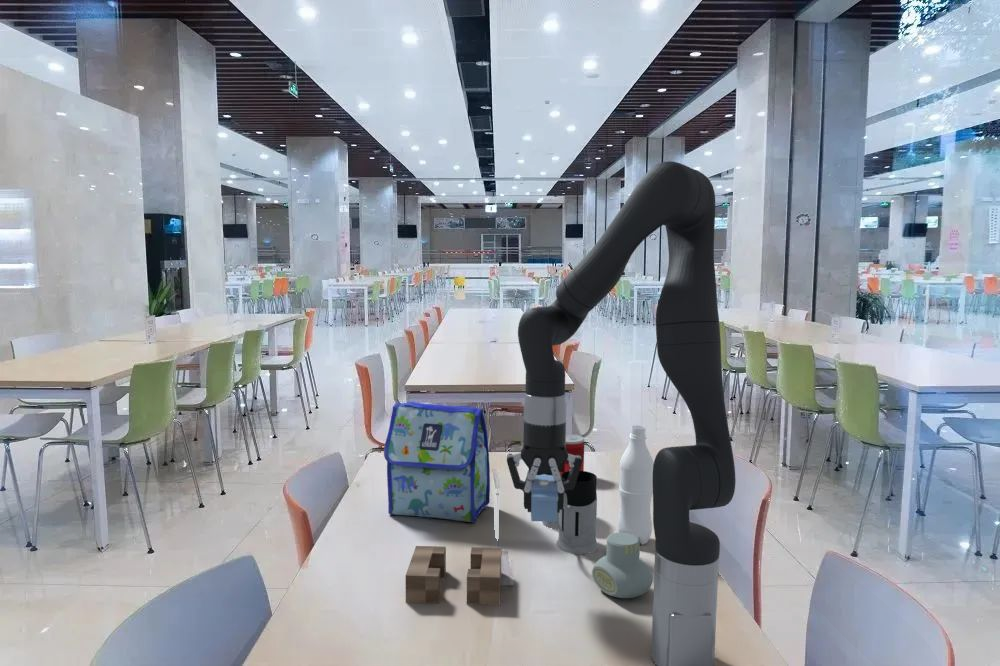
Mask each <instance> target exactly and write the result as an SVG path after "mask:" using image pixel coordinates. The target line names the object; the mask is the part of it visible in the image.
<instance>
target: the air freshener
mask: <svg viewBox="0 0 1000 666" xmlns="http://www.w3.org/2000/svg"><path fill="white" fill-rule="evenodd" d="M640 547H641V543H640V540H639V539H638V538H637V537H636V536H634V535H632V534H628V533H619V532H615V533H612V534H609V536H607V538H606V554H605V555H604V556H602V557H600V558H599V559H598V560H597V561H596V562H595V563H594V565H593V566H592V571H591V575H592V579H593V581H594V583H595V584H596V586H597V587H598V589H600V591H602V592H603V593H605V594H606V595H608V596H610V597H612V596H613V597H614V598H616V599H617V598H618V599H634V598H637V597H639V596H642V595H644V594H645V593H647V592H648V591H649V590H650V588H652V585H653V583H654V573H653V572H652V569H651V568H650V567H649V565H648V564H647V563H646V562H645V561H644V560H643V559H641V558H640V554H641V553H640V551H641V549H640ZM613 597H612V598H613Z"/></svg>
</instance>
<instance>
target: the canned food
mask: <svg viewBox="0 0 1000 666" xmlns="http://www.w3.org/2000/svg"><path fill="white" fill-rule="evenodd" d="M566 450H567V452H568V454H572V455H575V456H576V455H580V456H581V458H582V465H581V468H580V471H585V437H583V436H581V435H580V434H579V435H578V434H567V433H566ZM570 470H571V467H570V465H569V461H568V460H566V462H565V463H564V464H563V465H562V467H561V468H560V469H559V472H560V475H561V474H562V473H564V472H567V471H570Z"/></svg>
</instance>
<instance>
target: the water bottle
mask: <svg viewBox="0 0 1000 666" xmlns="http://www.w3.org/2000/svg"><path fill="white" fill-rule="evenodd" d="M646 440H647V435H646V426H644V425H638V424H634V425H631V426H630V433H629V443H628V446H627V447H626V449H625V450H624V452H623V454H622V456H621V458H620V462H619V486H618V491H619V496H620V511H619V516H618V520H617V530H618V532H617V533H628V534H632V535H634V536H636V537H637V538H638V539H639V540H640V545H646V544H647V543H648V542H649V540H650V538H651V536H652V531H653V519H652V513H651V506H652V505H651V504H652V503H651V502H652V499H653V465H654V460H653V456H652V455H651V453H650V450H649V448H648V447H647V444H646Z"/></svg>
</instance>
